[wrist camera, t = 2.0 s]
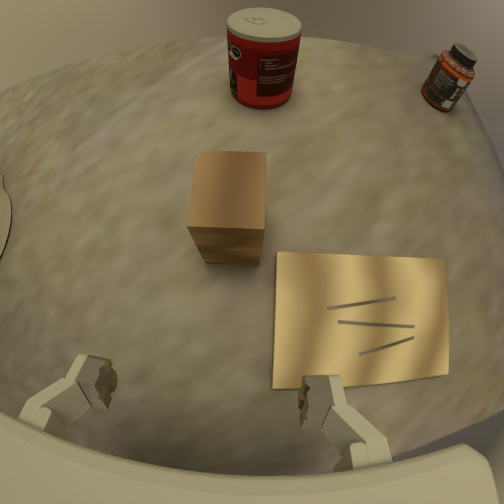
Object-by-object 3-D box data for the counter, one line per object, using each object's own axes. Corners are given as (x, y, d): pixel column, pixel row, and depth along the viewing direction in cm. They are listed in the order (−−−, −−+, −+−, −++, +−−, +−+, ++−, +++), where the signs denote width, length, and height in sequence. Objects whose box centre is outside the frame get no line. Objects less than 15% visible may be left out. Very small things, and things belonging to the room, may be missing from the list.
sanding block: (205, 262, 28) (186, 226, 19) (210, 204, 30) (198, 151, 21) (259, 265, 28) (264, 229, 19) (261, 206, 30) (266, 152, 21)
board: (271, 386, 24) (272, 388, 23) (275, 255, 28) (277, 251, 27) (441, 373, 25) (448, 373, 23) (437, 262, 28) (444, 259, 27)
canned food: (243, 67, 36) (243, 3, 26) (298, 82, 35) (310, 16, 25) (219, 101, 34) (213, 29, 23) (281, 117, 33) (291, 44, 23)
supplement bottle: (451, 119, 35) (485, 71, 24) (419, 99, 36) (449, 47, 25) (451, 99, 37) (480, 54, 26) (421, 81, 37) (447, 33, 26)
